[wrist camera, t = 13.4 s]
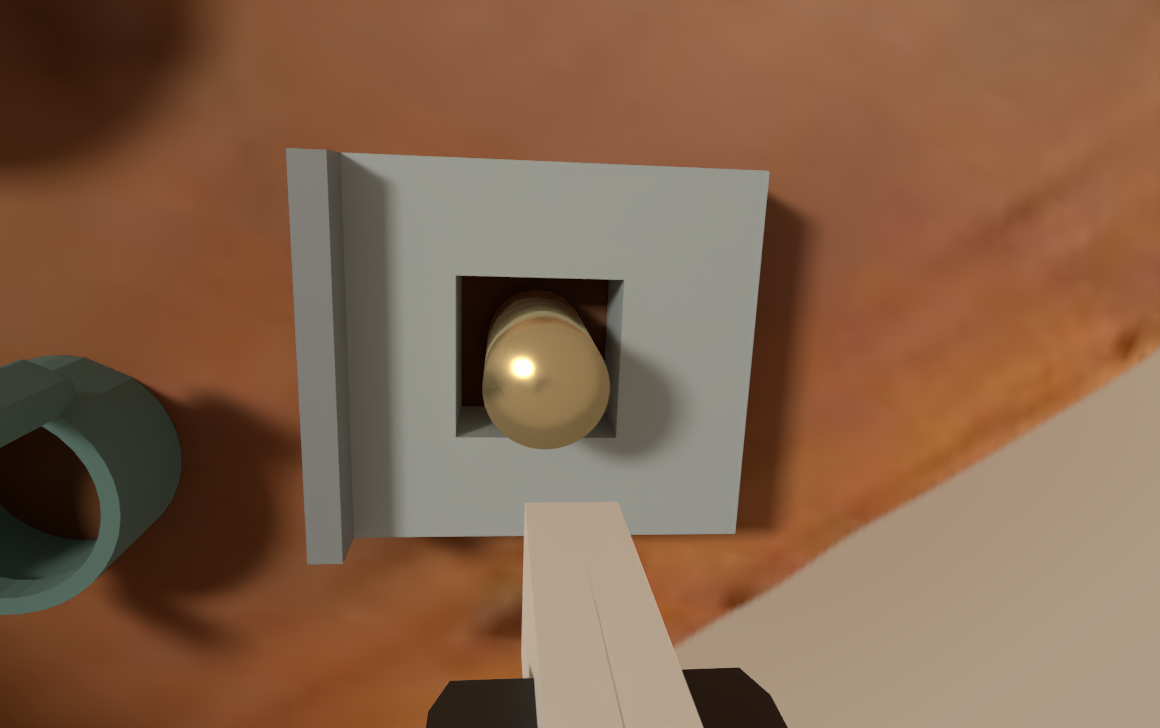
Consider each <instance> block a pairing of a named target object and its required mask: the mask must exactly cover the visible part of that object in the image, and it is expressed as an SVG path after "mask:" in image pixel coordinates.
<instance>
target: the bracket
mask: <svg viewBox="0 0 1160 728" xmlns="http://www.w3.org/2000/svg"><path fill="white" fill-rule="evenodd" d="M41 426H42V427H44V428H45V429H47V430H48V431H50V432H51V433H53V434H55V435H56V436H58V437H59V438H60V439H61V440H62V441H63V442H64V443H65V444H67V445H68V446H69V447H70V448H71V449H72V450H73V451H74V452H75V453H76V455H77V456H78V457H79V459H80V460H81V461H82V462H83V464H84V465H85V466H86V468H87V470H88V472H89V474H90V476H91V478H92V480H93V482H94V484H95V486H96V490H97V494H98V497H99V501H100V512H101V523H100V529H99V535H98V539H90V540H76V539H68V538H61V537H57V536H54V535H50V534H47V533H43V532H41V531H39V530H37V529H35V528H32V527H30V526H28V525H26V524H25V523H23V522H22V521H20V520H19V519H17V518H16V517H14V516H12V515H11V514H10V513H9V512H8V511H7V510H6V509H5V508H3V507H2V506H1V505H0V615H10V614H25V613H30V612H36V611H41V610H44V609H47V608H50V607H53V606H56V605H59V604H61V603H63V602H65V601H67V600H69V599H70V598H72V597H74V596H76V595H78V594H79V593H80V592H82V591H83V590H84V589H85V588H86V587H88V586H89V585H90V584H91V583H93V582H94V581H95V580H96V579H97V578H98V577H99V576H100V575H101V574H102V573H103V572H104V571H105V570H106V569H107V568H108V567H109V566H110V565H111V564H112V563H113V562H114V561H115V560H116V559H117V558H118V557H119V556H120V555H121V554H122V553H123V552H124V551H125V550H126V549H127V548H128V547H129V546H130V545H131V544H133V543H134V542H135V541H136V540H137V539H138V538H139V537H140V536H141V535H142V534H143V533H144V532H145V531H146V530H147V529H148V528H149V527H150V526H151V525H152V524H153V523H154V522H155V521H156V520H157V519H158V518H159V517H160V516H161V515H162V514H163V513H164V511H165V510H166V508H167V507H168V506H169V504H170V503H171V501H172V499H173V497H174V494H175V492H176V490H177V487H178V484H179V479H180V474H181V449H180V444H179V439H178V435H177V433H176V430H175V428H174V426H173V423H172V421H171V419H170V417H169V416H168V414H167V412H166V411H165V409H164V408H163V406H162V405H161V403H160V402H159V401H158V400H157V399H156V398H155V397H154V396H153V395H152V393H151V392H150V391H149V390H148V389H147V388H145V387H144V386H143V385H142V384H140V383H139V382H138V381H137V380H135V379H134V378H133V377H130V376H128V375H126V374H123V373H121V372H118V371H116V370H114V369H111V368H109V367H106V366H104V365H102V364H99V363H97V362H94V361H92V360H90V359H87V358H85V357H76V356H68V355H57V356H43V357H38V358H34V359H29V360H18V361H15V362H12V363H10V364H7V365H4V366H1V367H0V448H1V447H3V446H5V445H6V444H8V443H10V442H12V441H14V440H16V439H18V438H20V437H22V436H24V435H26V434H27V433H29V432H31V431H33V430H35V429H37V428H39V427H41Z"/></svg>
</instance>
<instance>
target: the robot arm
mask: <svg viewBox="0 0 1160 728" xmlns="http://www.w3.org/2000/svg"><path fill="white" fill-rule="evenodd" d="M521 657H522V676H523V678H520V679H492V680H465V681H450V682H449V683H448V685H447V686H446V687H445V689H444V690H443V692H442V693H441V694H440V696H439V697H438V699H437V700H436V702H435V703H434V704H433V706H432V707H431V709H430V710H429V712H428V717H427V725H426V728H787V726H786V724H785V722H784V720H783V718H782V716H781V715H780V712H779V711H778V709H777V707H776V705H775V703H774V701H773V699H772V697H771V696H770V694H769V693H767V692H766V691H765V690H764V689H763V688H762V687H760V686H759V685H758V684H757V683H756V682H755V681H754V680H753V679H751V678H750V677H749V676H748V675H747V674H746V673H745V672H743V671H742V670H741V669H740V668H716V669H688V670H681V667H680V664H679V662H678V659H677V657H676V654H675V651H674V649H673V646H672V643H671V641H670V638H669V635H668V633H667V630H666V628H665V625H664V622H663V620H662V617H661V614H660V612H659V609H658V606H657V604H656V601H655V598H654V596H653V593H652V591H651V588H650V585H649V583H648V580H647V577H646V575H645V572H644V569H643V567H642V564H641V562H640V559H639V556H638V554H637V551H636V548H635V546H634V543H633V540H632V538H631V535H630V532H629V530H628V527H627V525H626V522H625V519H624V517H623V514H622V511H621V509H620V506H619V503H618V502H538V503H525V515H524V559H523V603H522V647H521Z"/></svg>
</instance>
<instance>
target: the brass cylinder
mask: <svg viewBox="0 0 1160 728" xmlns="http://www.w3.org/2000/svg"><path fill="white" fill-rule="evenodd" d="M482 391H483V400H484V404H485V408H486V410H487V413H488V415H489V417H490V419H491V421H492V422H493V423H494V425H495V426H496V427H497V428H498V429H499V430H500V432H501V433H503V434H504V435H505V436H506V437H508V438H509V439H511V440H512V441H514V442H516V443H518V444H520V445H523V446H526V447H529V448H534V449H556V448H561V447H564V446H567V445H570V444H572V443H574V442H577V441H578V440H580V439H581V438H583V437H585V436H586V435H587V434H588V433H589V432H590V431H591V430H592V429H593V428H594V427H595V426H596V425H597V423H598V422H599V421H600V419H601V418H602V416H603V414H604V412H605V409H606V407H607V404H608V400H609V393H610V380H609V374H608V370H607V367H606V365H605V362H604V360H603V358H602V356H601V355H600V353H599V351H598V349H597V347H596V346H595V344H594V342H593V340H592V338H591V337H590V335H589V333H588V331H587V329H586V328H585V326H584V324H583V322H582V320H581V319H580V317H579V315H578V313H577V312H576V310H575V309H574V308H573V306H572V305H571V304H570V303H569V302H567V301H566V300H565V299H564V298H562V297H560V296H558V295H556V294H554V293H551V292H548V291H543V290H530V291H525V292H521V293H518V294H516V295H514V296H512V297H511V298H509V299H507V300H506V301H505V302H504V303H503V304H502V305H501V306H500V307H499V308H498V309H497V311H496V312H495V314H494V316H493V318H492V320H491V323H490V326H489V331H488V340H487V349H486V358H485V367H484V376H483V387H482Z"/></svg>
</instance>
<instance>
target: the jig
mask: <svg viewBox="0 0 1160 728" xmlns="http://www.w3.org/2000/svg"><path fill="white" fill-rule="evenodd" d="M286 160H287V179H288V198H289V218H290V237H291V256H292V276H293V295H294V314H295V334H296V353H297V372H298V391H299V411H300V430H301V449H302V469H303V488H304V507H305V527H306V546H307V564H343V562H344V560H345V557H346V555H347V553H348V550H349V548H350V546H351V543H352V541H353V539H354V538H361V537H461V536H524V515H525V503H538V502H618V503H619V506H620V509H621V511H622V514H623V517H624V519H625V522H626V525H627V527H628V530H629V532H630V535H661V534H735V531H736V520H737V510H738V499H739V488H740V478H741V467H742V457H743V446H744V436H745V425H746V415H747V404H748V394H749V383H750V373H751V362H752V351H753V341H754V330H755V320H756V309H757V299H758V288H759V278H760V267H761V257H762V246H763V236H764V225H765V214H766V204H767V193H768V183H769V172H770V171H759V170H736V169H712V168H689V167H666V166H643V165H619V164H596V163H573V162H549V161H526V160H503V159H479V158H456V157H433V156H410V155H386V154H363V153H340V152H335V151H330V150H317V149H294V148H286ZM462 276H495V277H533V278H571V279H609V282H608V303H607V324H606V345H605V365H606V367H607V370H608V374H609V380H610V393H609V400H608V404H607V407H606V409H605V412H604V414H603V416H602V418H601V419H600V421H599V422H598V423H597V425H596V426H595V427H594V428H593V429H592V430H591V431H590V432H589V433H588V434H587V435H586V436H585V437H583V438H581V439H580V440H578V441H577V442H574V443H572V444H570V445H567V446H564V447H561V448H556V449H534V448H529V447H526V446H523V445H520V444H518V443H516V442H514V441H512V440H511V439H509V438H508V437H506V436H505V435H504V434H503V433H501V432H500V430H499V429H498V428H497V427H496V426H495V425H494V423H493V422H492V421H491V419H490V417H489V415H488V413H487V410H486V408H485V406H462Z"/></svg>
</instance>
